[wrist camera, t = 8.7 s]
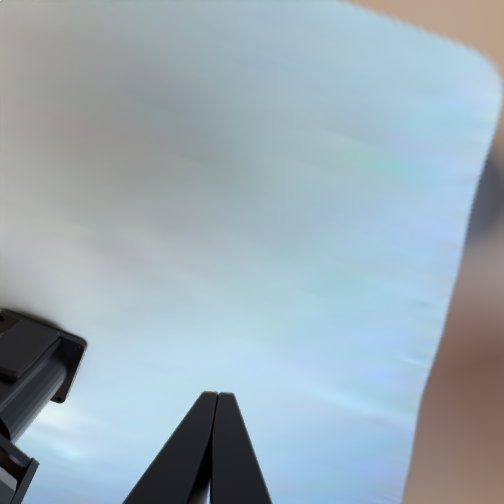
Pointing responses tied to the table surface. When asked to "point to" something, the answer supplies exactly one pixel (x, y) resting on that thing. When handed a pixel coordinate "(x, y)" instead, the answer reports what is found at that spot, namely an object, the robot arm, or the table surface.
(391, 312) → the table surface
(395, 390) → the table surface
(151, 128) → the table surface
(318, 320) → the table surface
